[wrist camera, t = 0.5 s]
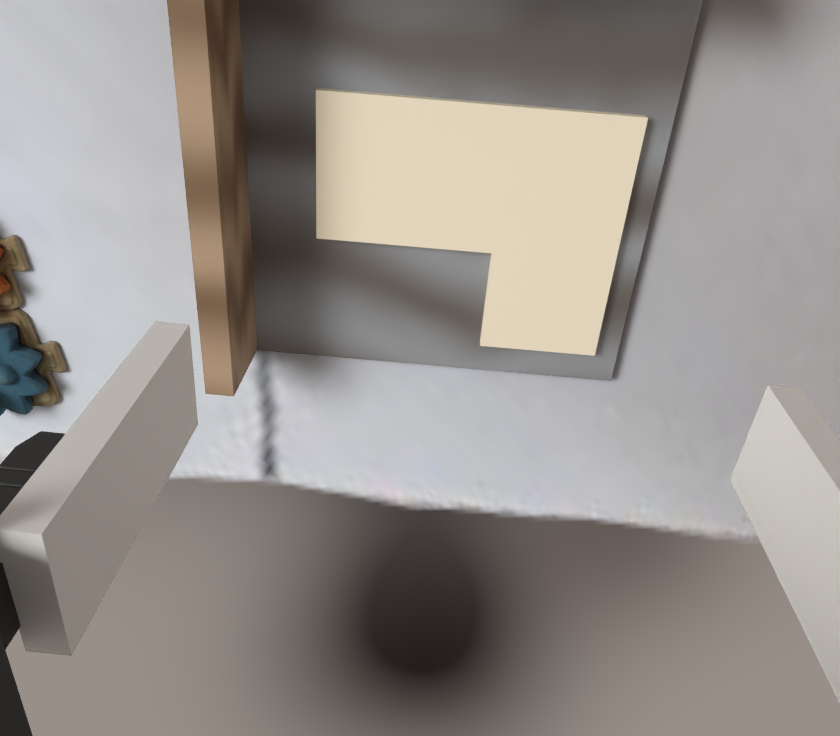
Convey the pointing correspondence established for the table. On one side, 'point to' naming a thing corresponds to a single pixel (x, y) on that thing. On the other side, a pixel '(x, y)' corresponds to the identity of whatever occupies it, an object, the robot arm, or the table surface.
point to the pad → (487, 199)
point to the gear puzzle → (22, 343)
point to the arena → (403, 75)
